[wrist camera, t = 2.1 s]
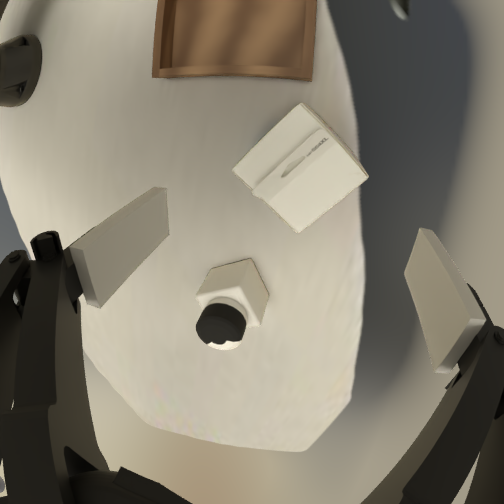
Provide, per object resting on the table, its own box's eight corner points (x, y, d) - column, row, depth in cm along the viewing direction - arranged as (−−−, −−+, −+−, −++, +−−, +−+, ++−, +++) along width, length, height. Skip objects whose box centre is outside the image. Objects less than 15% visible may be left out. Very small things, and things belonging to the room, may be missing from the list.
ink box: (303, 196, 35) (295, 248, 24) (255, 149, 34) (221, 178, 22) (354, 152, 31) (375, 183, 20) (304, 100, 29) (298, 100, 18)
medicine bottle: (210, 268, 44) (179, 320, 34) (251, 257, 42) (228, 312, 31) (230, 303, 47) (206, 358, 37) (270, 295, 44) (254, 353, 34)
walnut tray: (168, 78, 31) (152, 77, 27) (175, -18, 23) (161, -27, 19) (311, 81, 28) (311, 78, 25) (317, -24, 20) (317, -37, 17)
